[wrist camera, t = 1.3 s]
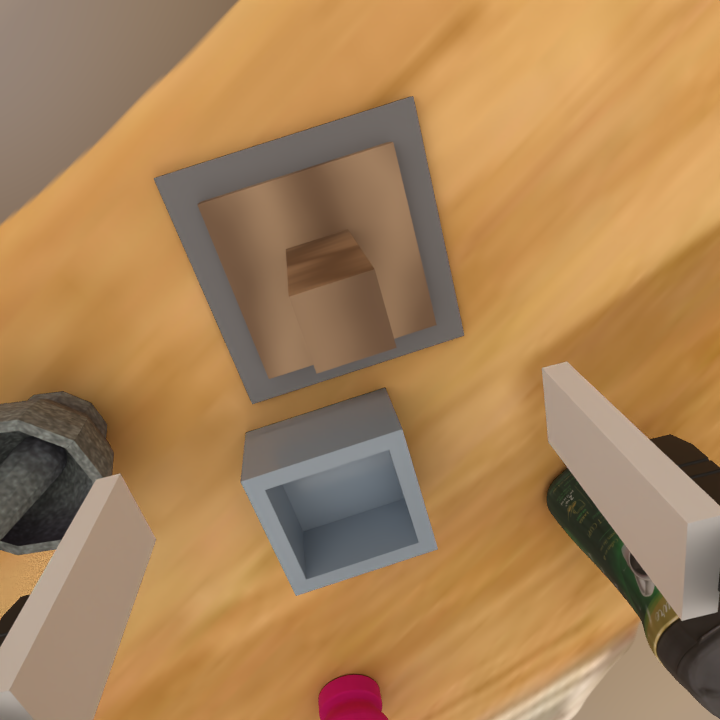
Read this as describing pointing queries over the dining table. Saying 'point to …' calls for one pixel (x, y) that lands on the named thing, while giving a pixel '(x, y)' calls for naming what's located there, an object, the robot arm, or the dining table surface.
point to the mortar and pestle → (47, 467)
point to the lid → (323, 261)
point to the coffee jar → (643, 595)
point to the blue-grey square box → (337, 491)
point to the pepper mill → (351, 699)
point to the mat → (289, 157)
